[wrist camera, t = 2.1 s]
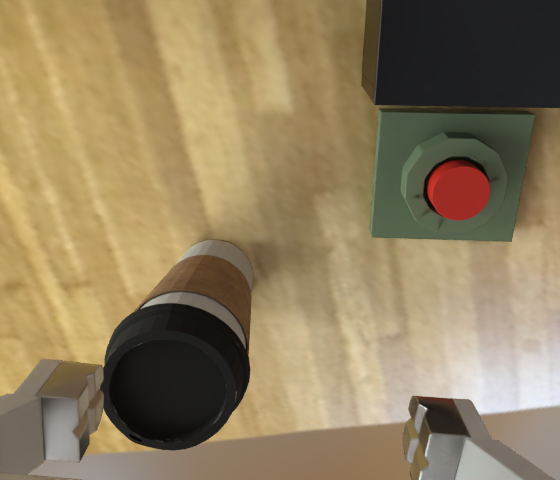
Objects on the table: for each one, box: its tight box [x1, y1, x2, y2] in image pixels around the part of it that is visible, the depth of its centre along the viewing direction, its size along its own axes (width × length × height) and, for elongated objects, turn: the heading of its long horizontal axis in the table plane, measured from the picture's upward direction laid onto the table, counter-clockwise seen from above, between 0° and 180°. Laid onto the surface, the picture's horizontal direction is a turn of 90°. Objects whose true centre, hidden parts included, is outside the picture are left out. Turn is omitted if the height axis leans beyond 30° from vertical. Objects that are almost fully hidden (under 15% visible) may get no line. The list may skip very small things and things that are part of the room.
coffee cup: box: [100, 240, 253, 450], centre depth 35 cm, size 8×8×15 cm
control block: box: [370, 109, 535, 242], centre depth 36 cm, size 10×9×4 cm
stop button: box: [427, 160, 490, 220], centre depth 34 cm, size 4×4×2 cm
